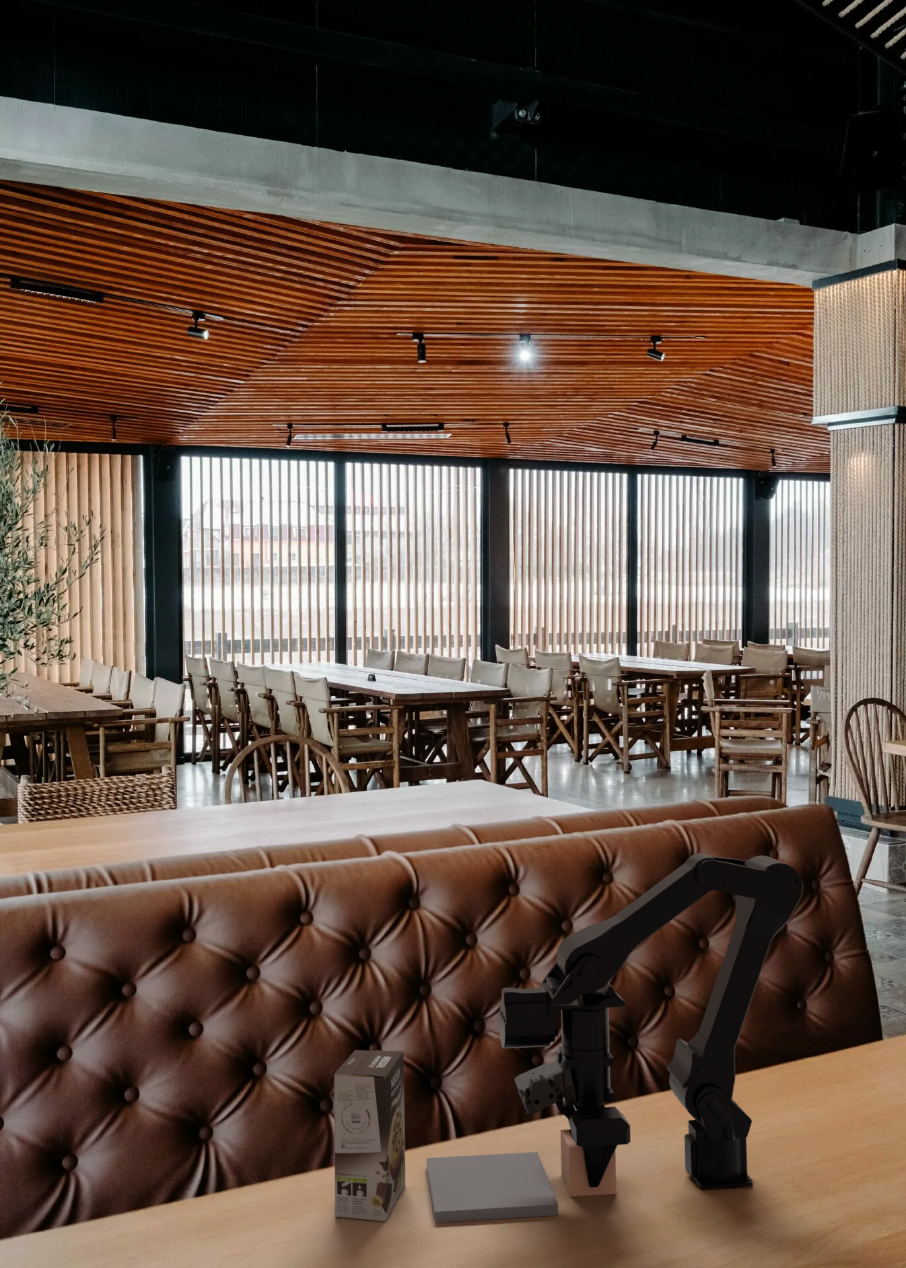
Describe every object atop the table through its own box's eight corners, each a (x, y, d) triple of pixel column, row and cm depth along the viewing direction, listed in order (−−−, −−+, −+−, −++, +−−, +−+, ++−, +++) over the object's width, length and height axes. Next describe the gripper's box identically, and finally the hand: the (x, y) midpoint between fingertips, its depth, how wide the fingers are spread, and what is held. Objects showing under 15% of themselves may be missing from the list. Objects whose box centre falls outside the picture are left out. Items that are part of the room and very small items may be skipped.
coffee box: (388, 1222, 122) (386, 1076, 123) (333, 1218, 124) (331, 1073, 124) (407, 1186, 131) (405, 1049, 132) (356, 1182, 132) (354, 1047, 133)
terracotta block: (605, 1173, 134) (604, 1127, 134) (616, 1193, 128) (615, 1146, 128) (561, 1175, 133) (560, 1129, 133) (570, 1196, 128) (569, 1148, 128)
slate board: (537, 1161, 137) (537, 1151, 137) (558, 1215, 123) (558, 1204, 123) (426, 1168, 136) (426, 1158, 136) (435, 1222, 122) (434, 1211, 122)
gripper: (508, 1023, 140) (510, 1147, 139) (532, 1074, 122) (534, 1217, 121) (593, 1019, 141) (596, 1142, 140) (630, 1069, 123) (633, 1211, 122)
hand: (588, 1175), depth 131 cm, fingers closed on terracotta block, 5 cm apart
